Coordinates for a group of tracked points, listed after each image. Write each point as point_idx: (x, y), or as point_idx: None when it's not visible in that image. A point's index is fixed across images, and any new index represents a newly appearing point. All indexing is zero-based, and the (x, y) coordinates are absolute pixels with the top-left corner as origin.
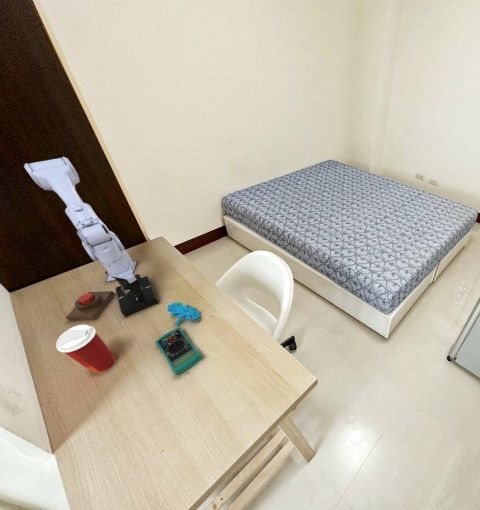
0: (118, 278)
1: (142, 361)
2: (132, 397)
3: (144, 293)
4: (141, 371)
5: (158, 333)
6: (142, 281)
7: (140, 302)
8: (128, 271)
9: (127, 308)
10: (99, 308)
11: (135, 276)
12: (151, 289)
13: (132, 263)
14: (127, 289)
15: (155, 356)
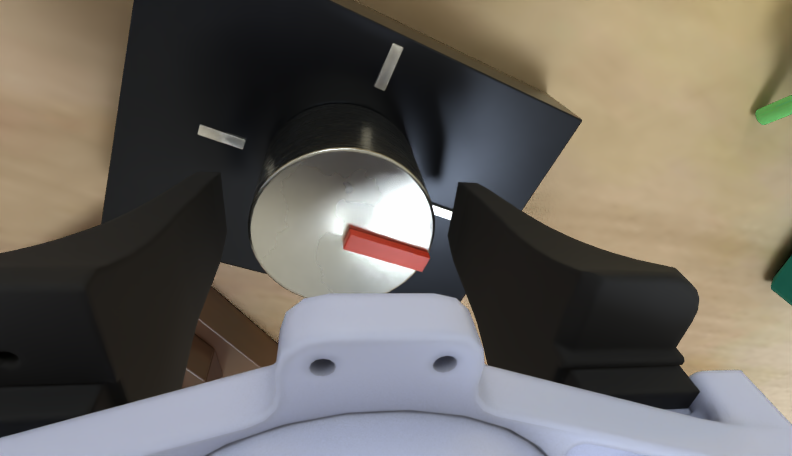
0: (190, 312)
1: (731, 344)
2: (776, 405)
3: (439, 140)
4: (753, 362)
5: (718, 244)
6: (228, 32)
7: None
8: (582, 447)
9: (462, 289)
10: (248, 350)
11: (625, 327)
12: (453, 68)
13: (471, 350)
14: (388, 277)
15: (777, 311)
